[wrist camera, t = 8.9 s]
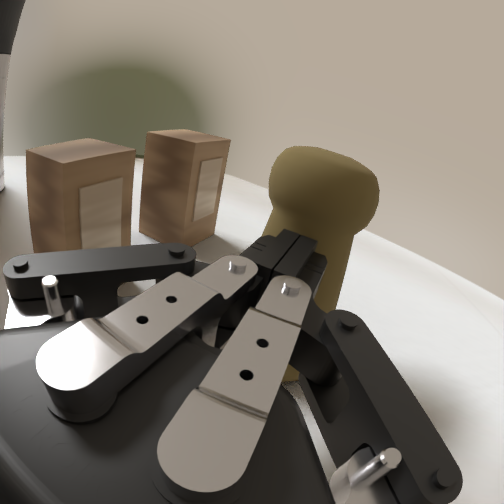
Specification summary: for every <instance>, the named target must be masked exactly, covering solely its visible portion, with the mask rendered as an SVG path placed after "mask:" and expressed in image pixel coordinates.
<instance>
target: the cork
mask: <svg viewBox="0 0 504 504" xmlns="http://www.w3.org/2000/svg"><path fill="white" fill-rule="evenodd" d="M379 191H380V190H379V186H378V181H377V178H376V176H375V175H374V174H373V172H372V171H370V170H369V169H368V168H367V167H365V166H364V165H362V164H361V163H359V162H357V161H356V160H354V159H352V158H350V157H346V156H344V155H341V154H338V153H335V152H332V151H328V150H325V149H322V148H318V147H308V146H307V147H306V146H293V147H290V148H287V149H285V150H284V151H283V152H282V153H281V154H280V155H279V156H278V157H277V159H276V161H275V163H274V165H273V167H272V169H271V173H270V178H269V197H270V200H271V203H272V206H273V210H272V213H271V215H270V217H269V220H268V222H267V224H266V227H265V229H264V232H263V234H262V236H266V235H271V236H274V237H276V236H277V235H278V234H279V233H280V232H281V231H282V230H283V229H287V230H290V231H293V232H295V233H298V234H301V235H304V236H306V237H309V238H312V239H314V240H317V241H318V244H317V247H316V250H315V252H317V253H319V254H322V255H325V256H326V259H327V262H328V263H327V266H326V269H325V272H324V274H323V277H322V280H321V282H320V285H319V288H318V290H317V293H316V295H315V297H314V301H315V303H316V305H317V306H318V307H319V308H320V309H321V310H323V311H324V312H326V313H328V312H330V311H332V310H335V309H336V305H337V302H338V298H339V294H340V291H341V287H342V283H343V279H344V275H345V271H346V267H347V263H348V259H349V255H350V251H351V246H352V242H353V238H354V235H355V234H357V233H358V232H360V231H361V230H362V229H364V228H365V227H367V225H368V224H369V222H370V221H371V219H372V218H373V216H374V214H375V211H376V209H377V206H378V202H379ZM262 236H261V237H262ZM299 373H300V372H299V371H297V370H296V369H295V368H293V367H292V366H291V365H289V364H288V365H287V368H286V370H285V373H284V376H283V378H282V381H281V382H284V381H297V380H298V375H299Z"/></svg>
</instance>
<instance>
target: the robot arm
mask: <svg viewBox="0 0 504 504" xmlns="http://www.w3.org/2000/svg"><path fill="white" fill-rule="evenodd" d="M24 3H25V0H0V191H1V190H3V188H4V185H5V184H4V166H3V127H4V108H5V107H4V106H5V95H6V85H7V76H8V69H9V62H10V55H11V50H12V45H13V41H14V38H15V35H16V31H17V27H18V23H19V19H20V16H21V12H22V9H23V6H24ZM317 244H318V241H317V240H314V239H312V238H309V237H306V236H304V235H301V234H298V233H295V232H293V231H290V230H287V229H283V230H282V231H281V232H280V233H279V234H278V235H277V236H276V237H274V236H271V235H266V236H262V237H260V238H258V239H257V240H256V241H255V243H253V244H252V245H251V246H250V247H248V248H247V249H246V250H245V251H244V252H243V253H241V254H240V255H239V256H238V255H227V256H223V257H221V258H220V259H218V260H217V261H215V262H214V263H212V264H207V263H203V262H198V261H195V259H196V252H195V250H194V249H193V248H192V247H190V246H188V245H185V244H182V243H159V244H146V245H132V246H119V247H107V248H94V249H82V250H70V251H58V252H47V253H35V254H24V255H19V256H16V257H13V258H11V259H10V260H8V261H7V262H6V263H5V265H4V267H3V273H4V277H5V281H6V284H7V288H8V295H9V298H10V302H9V307H8V312H7V318H6V324H5V329H3V330H0V504H448V503H450V502H452V501H453V500H455V499H456V498H457V496H458V495H459V493H460V491H461V488H462V483H463V479H462V473H461V471H460V468H459V467H458V465H457V463H456V461H455V460H454V458H453V456H452V455H451V453H450V451H449V450H448V448H447V446H446V445H445V443H444V442H443V440H442V438H441V437H440V435H439V433H438V432H437V430H436V429H435V427H434V425H433V424H432V422H431V421H430V419H429V418H428V416H427V414H426V413H425V411H424V410H423V408H422V407H421V405H420V404H419V402H418V400H417V399H416V397H415V396H414V394H413V393H412V391H411V390H410V388H409V387H408V385H407V384H406V382H405V381H404V379H403V378H402V376H401V375H400V373H399V372H398V370H397V369H396V367H395V366H394V364H393V363H392V361H391V360H390V358H389V357H388V356H387V354H386V353H385V351H384V350H383V348H382V347H381V345H380V344H379V343H378V341H377V340H376V338H375V337H374V335H373V334H372V333H371V331H370V330H369V328H368V327H367V326H366V324H365V323H364V321H363V320H362V319H361V318H360V317H358V316H357V315H355V314H353V313H351V312H349V311H345V310H332V311H330V312H328V313H326V312H324V311H323V310H321V309H320V308H319V307H318V306H317V305H316V303H315V301H314V297H315V295H316V293H317V290H318V288H319V285H320V282H321V280H322V277H323V274H324V272H325V269H326V266H327V263H328V262H327V259H326V256H325V255H322V254H319V253H317V252H315V250H316V247H317ZM151 279H156V285H154V286H152V287H151V288H149V289H148V290H146V291H144V292H143V293H141V294H140V295H138V296H130V297H119V296H117V289H118V287H119V286H120V285H121V284H122V283H125V282H131V281H141V280H151ZM288 364H289V365H291V366H292V367H293V368H295V369H296V370H297V371H299V372H300V373H299V375H298V380H299V383H300V386H301V388H302V390H303V393H304V395H305V397H306V400H307V402H308V404H309V406H310V409H311V411H312V413H313V416H314V418H315V420H316V423H317V425H318V427H319V429H320V432H321V434H322V436H323V439H324V441H325V443H326V445H327V448H328V450H329V452H330V454H331V457H332V459H333V461H334V464H335V466H336V468H337V470H336V471H335V472H334V473H333V475H332V476H331V479H330V487H329V484H328V481H327V479H326V476H325V473H324V471H323V468H322V465H321V463H320V460H319V457H318V455H317V452H316V449H315V446H314V444H313V441H312V438H311V436H310V433H309V430H308V428H307V425H306V422H305V419H304V417H303V414H302V412H301V410H300V408H299V406H298V404H297V402H296V401H295V399H294V398H293V396H292V395H291V394H290V393H289V392H288V391H287V390H286V389H285V388H284V387H283V386H282V385H281V381H282V378H283V376H284V373H285V370H286V368H287V365H288Z"/></svg>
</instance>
